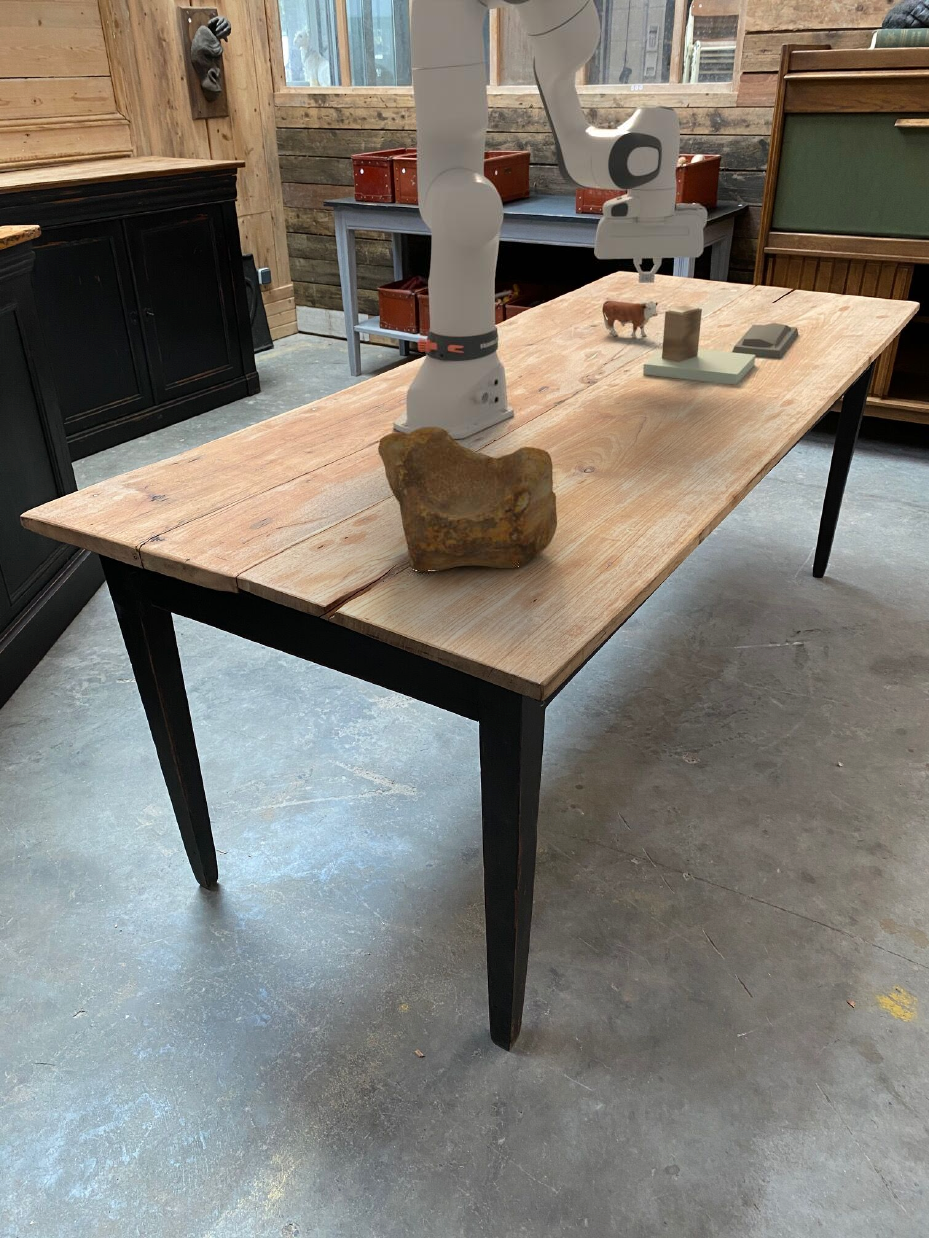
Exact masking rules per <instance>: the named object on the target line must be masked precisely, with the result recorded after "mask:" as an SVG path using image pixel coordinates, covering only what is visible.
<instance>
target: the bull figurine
mask: <svg viewBox="0 0 929 1238" xmlns="http://www.w3.org/2000/svg"><path fill="white" fill-rule="evenodd" d="M658 304H659V303H658V301H657V302H655V301H653V300H649V301H647V300H642V301H635V302H623V301H617V300H616V301H615V300H610V299H609V300H605V302H604V303H603V304H602V316H603V320H604V326H605V329H606V330H608V331H610V333H611V335H613V336H612V337H618V336H619V334H618V333H617V332H616V330H615V326H614V324H615V321H618V322H619V323H620V324H621V326H622V327H625V325H626V324H632V333H631V335H630V336H631V337H632V339H637V335H636V334H637V333H636V332H637V331H638V328H639V329H640V336H641V337H642V338H643V337H644V338H645V337H647V334H646V332H645V325H646V324H647V323H648V322H649V320H650V319H652V318H655V317H657V316H658V313H659V312H657V306H658Z"/></svg>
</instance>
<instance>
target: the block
mask: <svg viewBox="0 0 929 1238" xmlns="http://www.w3.org/2000/svg"><path fill="white" fill-rule="evenodd" d="M664 312H665V313H664V326H663V338H662V348H661V350H662V359H666V360H670V361H674V362H681V361H684V360H687V359H690V358H693V357H696V356H698V349H699V345H700V335H701V332H700V331H701V324H702V323H701V322H702V312H703V308H699V307H697V306H692V305H687V304H686V305H681V306H678V307H674V308H671V309H668V310H666V311H664Z"/></svg>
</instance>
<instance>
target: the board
mask: <svg viewBox="0 0 929 1238" xmlns="http://www.w3.org/2000/svg"><path fill="white" fill-rule="evenodd" d="M756 357H757V356H756V355H752V354H742V353H732V351H731V352H730V351H722V350H721V351H720V350H712V349H701V348H698V356H696V357H693V358H690V359H687V360H684V361H681V362H674V361H670V360H666V359H662V349H661V350H659V351H658V352H657V353H656V354H654V355H653V356H652V357H651V358H649V359H648V360H647V361H646V362H644V363H643V371H642V374H643V375H648V376H654V377H655V376H656V377H664V378H671V379H682V380H690V381H697V382H698V381H700V382H708V383H717V384H726V385H732V386H733V385H734V386H737V385H738V384H739V383H740V381H741V380H742V379H743V378H744V377H745V376H746V375H747V374H748V373H749V371H750V370H751V369H752V368H753V367H754V366H755V365H756V364H755V363H756V362H755V361H756Z"/></svg>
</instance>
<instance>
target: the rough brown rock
mask: <svg viewBox="0 0 929 1238" xmlns="http://www.w3.org/2000/svg"><path fill="white" fill-rule="evenodd" d="M377 451H378V453H379V456H380V458H381V460H382V463H383V466H384V470H385V471H384V472H385V477H386V479H387V482H388V485H389V487H390V490H391V492H392V494H393V496H394V497H395V499H396V500H397V502H398V505H399V509H400V515H401V516H400V517H401V521H402V528H403V529H402V530H403V533H404V536H405V541H406V546H407V551H408V557H409V559H408V560H409V561H408V563H409V565H411V566H410V569H411V568H412V569H414V570H417V571H428V570H440V571H444V570H448V569H451V568H455V567H465V566H480V567H482V566H483V567H489V568H497V569H515V568H514V567H518V566H519V567H518V568H521V567H523V566H524V565H525V564H527V562H528V561H529V560H531V559H535V558H537V557H538V556H539V555H540V554H541V553H543V551H544V550H545V549H547V547H548V546H549V545H550V544H551V542H552V541H553V539H554V536H555V534H556V530H557V527H558V515H557V504H556V503H557V495H556V493H555V492H554V490H553V488H554V487H553V486H554V479H553V473H554V472H553V461H552V458H551V455H550V453H549V452H548V451H546V450H544V449H542V448H538V447H532V446H531V447H530V446H524V447H520V448H519V449H517V450H515V451H514V452H512V453H509V454H504V455H501V456H500V457H494V456H493V457H492V456H490V455H487V454H485V453H481V452H477V451H475V450H472V449H469V448H467V447H465V446H463V445H460V444H459V443H458V442H457V441H456V439H453V438H452V437H451V436H450V435H449V434H448V432H447V431H446V430H444V429H442V428H438V427H422V428H420V429H416V430H414V431H412V432H411V433H409V434H407V433H405V432H401V431H400V432H393V433H388V434H387V435H384V436H383V437H381V438H380V439H379V443H378V448H377ZM520 566H521V567H520ZM412 569H411V570H412ZM443 569H444V570H443ZM428 572H429V571H428Z"/></svg>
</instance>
